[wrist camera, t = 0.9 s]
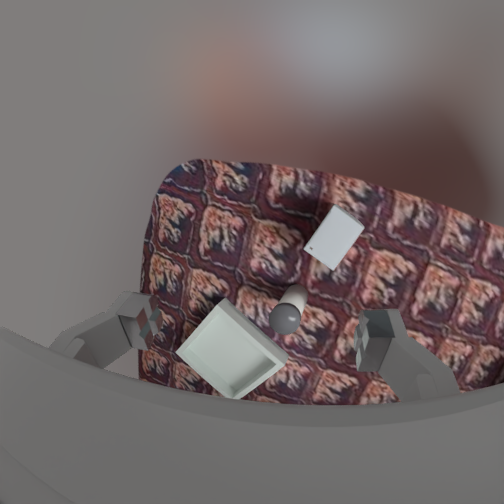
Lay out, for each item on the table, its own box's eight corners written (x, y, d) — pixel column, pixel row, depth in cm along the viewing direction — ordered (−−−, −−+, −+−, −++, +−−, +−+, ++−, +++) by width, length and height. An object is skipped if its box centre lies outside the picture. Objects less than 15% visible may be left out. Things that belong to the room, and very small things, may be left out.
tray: (288, 354, 56) (284, 365, 52) (239, 393, 62) (233, 403, 58) (225, 297, 58) (217, 304, 54) (184, 344, 64) (175, 352, 60)
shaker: (314, 295, 52) (306, 321, 41) (297, 311, 53) (285, 340, 42) (295, 278, 52) (282, 300, 41) (279, 295, 54) (262, 320, 43)
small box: (335, 257, 49) (332, 272, 39) (310, 239, 50) (301, 250, 40) (361, 221, 46) (366, 228, 37) (335, 202, 47) (333, 204, 37)
